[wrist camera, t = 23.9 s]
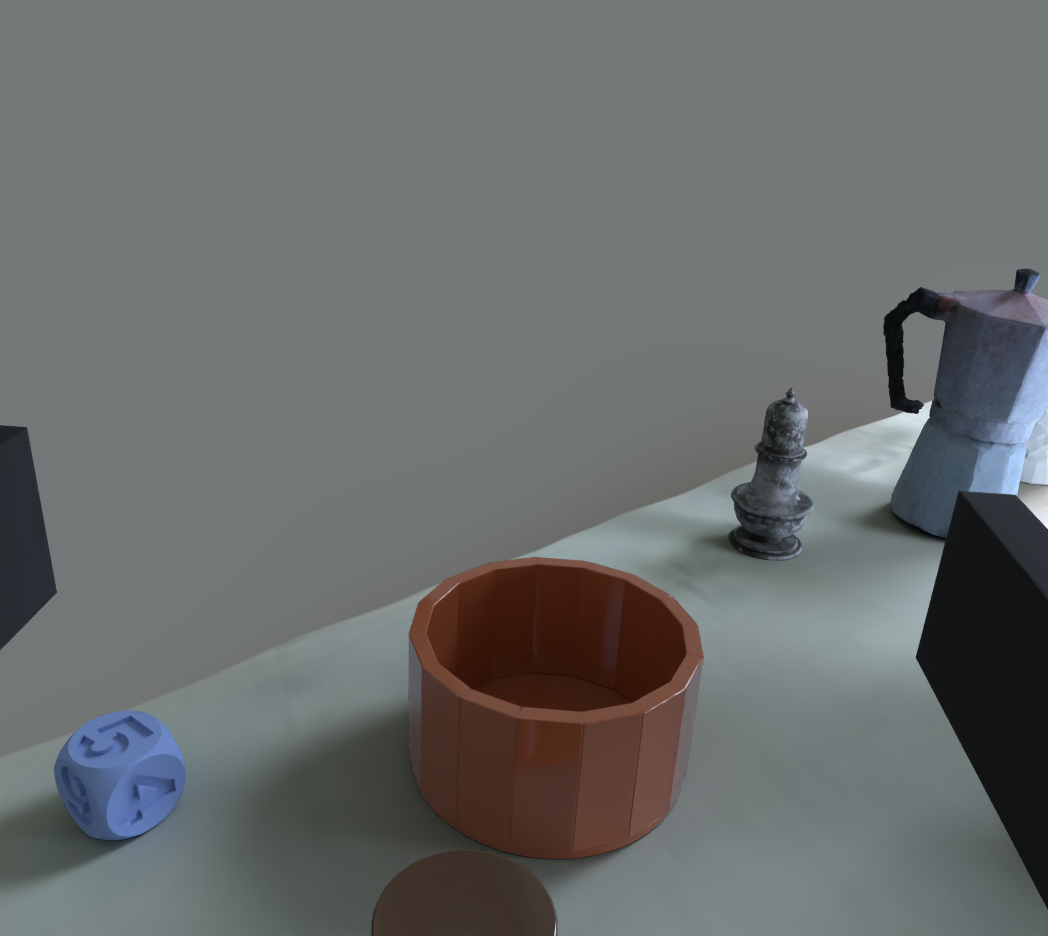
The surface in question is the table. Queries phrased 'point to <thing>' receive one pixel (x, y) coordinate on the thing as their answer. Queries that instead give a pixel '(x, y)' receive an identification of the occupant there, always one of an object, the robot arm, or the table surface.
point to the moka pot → (971, 396)
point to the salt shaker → (774, 487)
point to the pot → (551, 705)
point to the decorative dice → (120, 774)
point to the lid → (464, 898)
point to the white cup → (1037, 454)
